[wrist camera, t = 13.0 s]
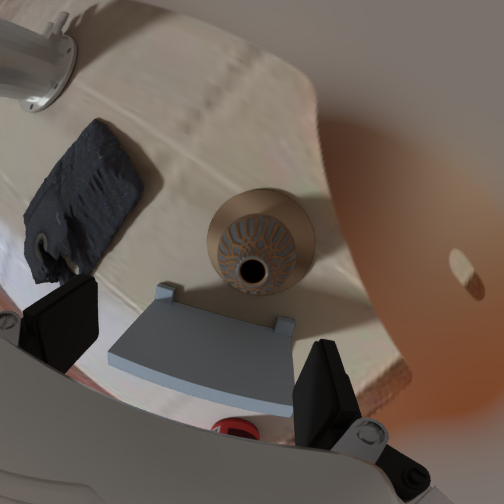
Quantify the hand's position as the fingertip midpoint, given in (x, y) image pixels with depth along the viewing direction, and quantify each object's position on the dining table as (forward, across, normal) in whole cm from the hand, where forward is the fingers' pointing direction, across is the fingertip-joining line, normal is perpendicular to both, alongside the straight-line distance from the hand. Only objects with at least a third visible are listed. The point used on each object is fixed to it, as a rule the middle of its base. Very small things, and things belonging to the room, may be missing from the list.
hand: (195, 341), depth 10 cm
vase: (+18, -2, 0) cm, 18 cm away
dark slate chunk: (+20, +21, +2) cm, 29 cm away
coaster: (+19, -2, 0) cm, 19 cm away
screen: (+19, 0, +10) cm, 21 cm away
